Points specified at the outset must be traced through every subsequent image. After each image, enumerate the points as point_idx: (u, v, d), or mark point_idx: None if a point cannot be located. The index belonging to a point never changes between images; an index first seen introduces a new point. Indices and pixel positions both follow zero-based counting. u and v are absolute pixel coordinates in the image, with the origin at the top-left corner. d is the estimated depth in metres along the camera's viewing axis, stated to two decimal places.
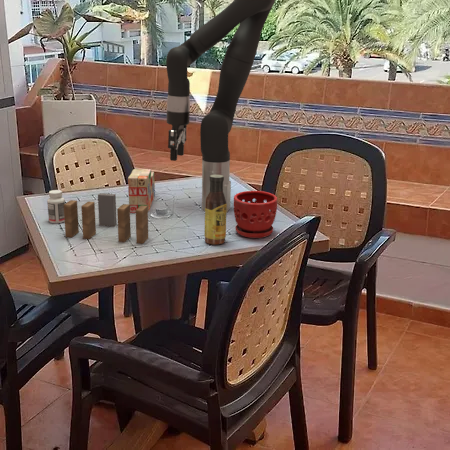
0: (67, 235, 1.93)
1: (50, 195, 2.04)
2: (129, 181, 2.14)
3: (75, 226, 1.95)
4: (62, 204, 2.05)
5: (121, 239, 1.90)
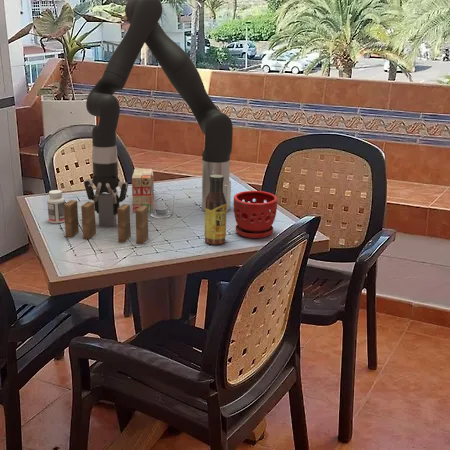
0: (67, 235, 1.93)
1: (50, 195, 2.04)
2: (133, 181, 2.15)
3: (75, 226, 1.95)
4: (62, 204, 2.05)
5: (121, 239, 1.90)
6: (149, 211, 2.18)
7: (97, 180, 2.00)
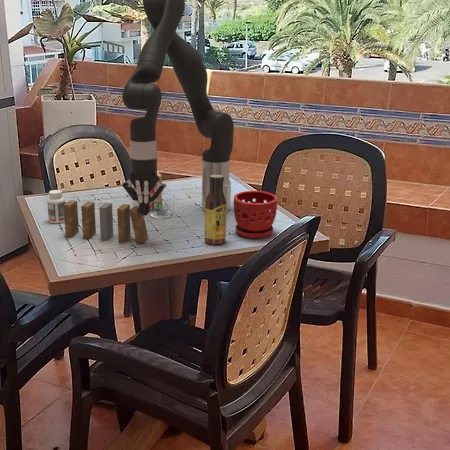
0: (67, 235, 1.93)
1: (50, 195, 2.04)
2: None
3: (75, 226, 1.95)
4: (62, 204, 2.05)
5: (121, 239, 1.90)
6: (160, 208, 2.21)
7: (134, 176, 1.85)
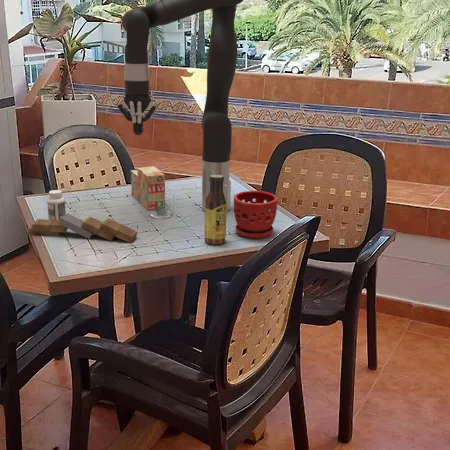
0: (57, 235, 1.94)
1: (50, 195, 2.04)
2: (148, 179, 2.17)
3: None
4: (62, 204, 2.05)
5: (109, 237, 1.91)
6: (163, 207, 2.22)
7: (128, 98, 2.01)
